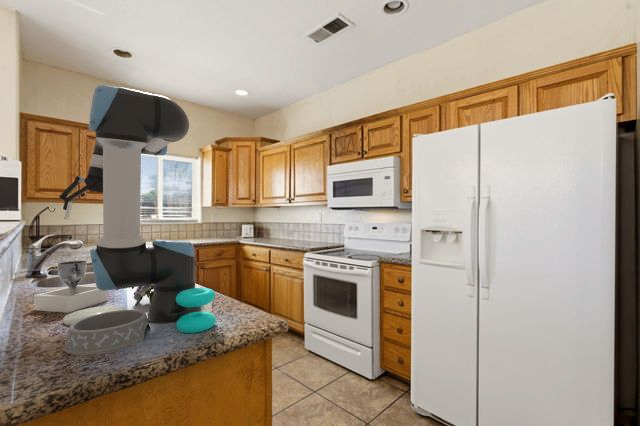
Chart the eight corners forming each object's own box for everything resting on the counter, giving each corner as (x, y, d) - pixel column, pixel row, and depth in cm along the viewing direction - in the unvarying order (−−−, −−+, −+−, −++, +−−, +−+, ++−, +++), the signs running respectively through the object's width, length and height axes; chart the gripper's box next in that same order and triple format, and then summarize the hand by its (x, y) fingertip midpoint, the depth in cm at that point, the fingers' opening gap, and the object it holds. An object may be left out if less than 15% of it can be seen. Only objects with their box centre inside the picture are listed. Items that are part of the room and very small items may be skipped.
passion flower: (138, 320, 108) (126, 290, 112) (170, 307, 116) (158, 279, 119) (142, 308, 101) (129, 276, 104) (176, 295, 108) (163, 266, 112)
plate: (134, 310, 102) (134, 306, 102) (91, 327, 87) (91, 323, 87) (97, 308, 105) (97, 304, 105) (50, 323, 91) (49, 319, 91)
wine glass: (52, 307, 107) (51, 263, 107) (76, 301, 114) (75, 260, 114) (69, 309, 105) (68, 264, 105) (92, 302, 112) (91, 260, 112)
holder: (108, 300, 115) (107, 286, 115) (68, 312, 101) (68, 297, 101) (77, 298, 118) (77, 285, 118) (34, 310, 104) (34, 295, 104)
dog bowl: (49, 361, 68) (49, 336, 68) (86, 331, 85) (86, 311, 85) (138, 350, 72) (137, 327, 72) (155, 323, 90) (155, 305, 90)
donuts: (215, 285, 92) (213, 294, 82) (216, 319, 92) (214, 332, 82) (179, 288, 89) (172, 297, 79) (179, 323, 89) (173, 336, 79)
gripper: (139, 177, 128) (127, 228, 126) (64, 160, 117) (50, 216, 116) (137, 175, 121) (125, 229, 120) (58, 157, 111) (43, 216, 109)
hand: (88, 222), depth 118 cm, fingers open, 13 cm apart
